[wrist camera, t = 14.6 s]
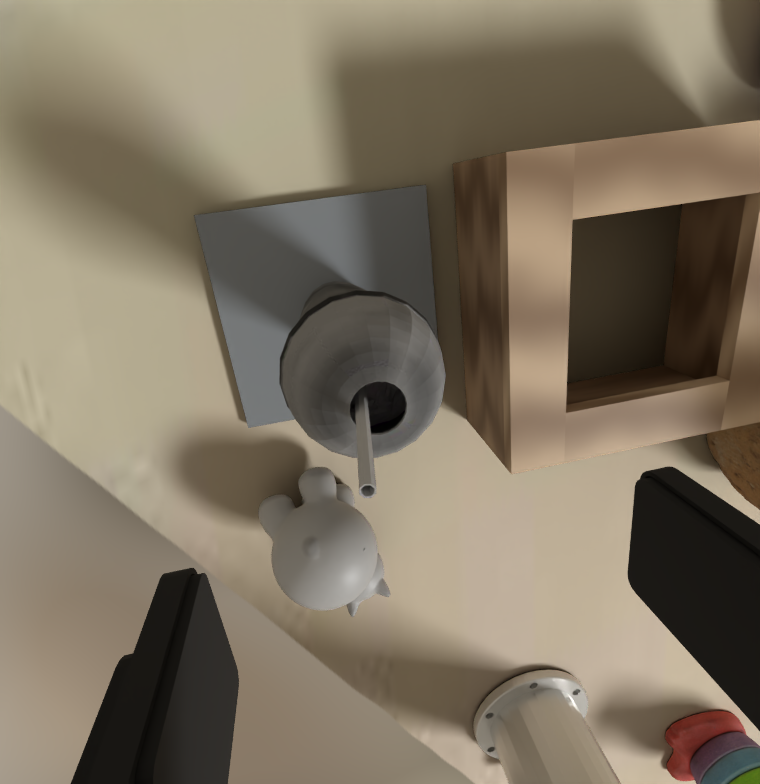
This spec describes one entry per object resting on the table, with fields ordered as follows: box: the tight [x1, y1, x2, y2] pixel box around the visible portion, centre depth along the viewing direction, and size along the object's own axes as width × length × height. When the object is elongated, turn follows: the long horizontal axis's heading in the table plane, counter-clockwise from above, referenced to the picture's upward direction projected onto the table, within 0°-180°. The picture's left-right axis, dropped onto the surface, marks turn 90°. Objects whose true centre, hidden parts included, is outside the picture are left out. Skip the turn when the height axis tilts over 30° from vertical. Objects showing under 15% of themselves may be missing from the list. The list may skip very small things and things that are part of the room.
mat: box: [194, 185, 438, 428], centre depth 32 cm, size 14×14×1 cm
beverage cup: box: [279, 281, 446, 498], centre depth 23 cm, size 7×7×20 cm
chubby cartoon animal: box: [258, 467, 390, 617], centre depth 35 cm, size 7×12×8 cm, turn 30°
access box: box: [453, 120, 760, 474], centre depth 31 cm, size 18×18×8 cm
